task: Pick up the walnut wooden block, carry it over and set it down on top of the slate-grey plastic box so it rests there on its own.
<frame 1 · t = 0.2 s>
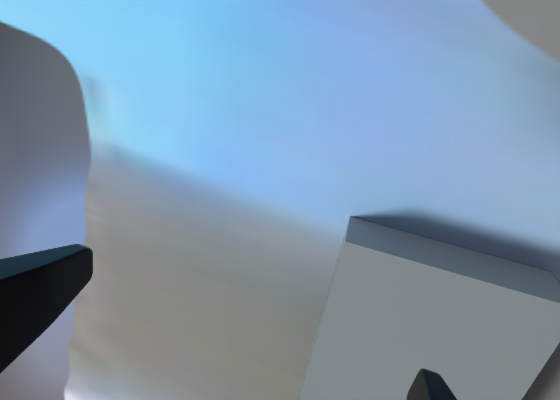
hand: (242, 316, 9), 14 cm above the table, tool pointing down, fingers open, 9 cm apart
slate box: (408, 324, 25), on the table
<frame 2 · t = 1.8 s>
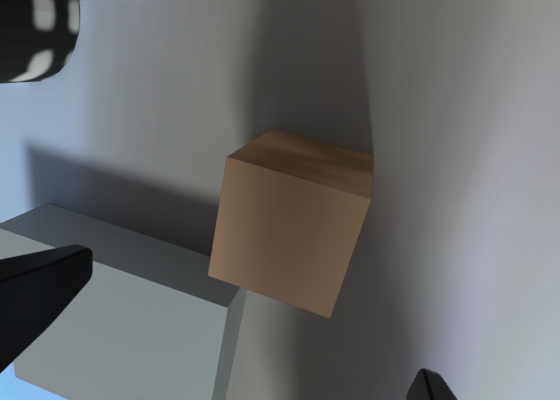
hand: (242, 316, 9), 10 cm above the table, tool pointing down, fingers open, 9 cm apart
walnut block: (310, 188, 18), on the table
slate box: (144, 306, 25), on the table
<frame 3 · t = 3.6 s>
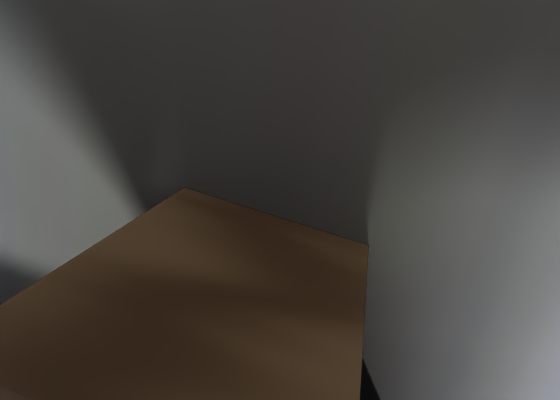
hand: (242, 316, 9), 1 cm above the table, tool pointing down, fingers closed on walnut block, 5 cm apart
walnut block: (254, 292, 10), on the table, touching gripper
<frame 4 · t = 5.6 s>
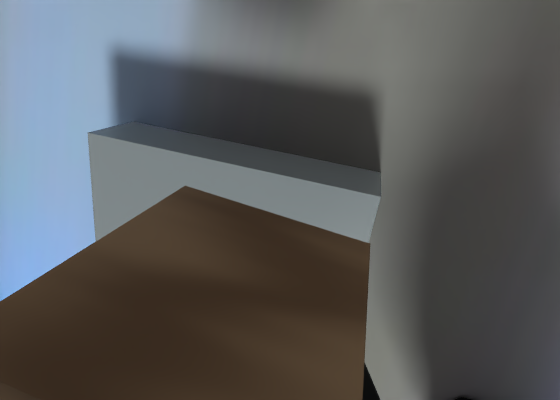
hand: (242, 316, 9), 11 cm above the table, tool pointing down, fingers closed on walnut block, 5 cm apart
walnut block: (255, 290, 10), point 10 cm above the table, touching gripper
slate box: (241, 238, 22), on the table
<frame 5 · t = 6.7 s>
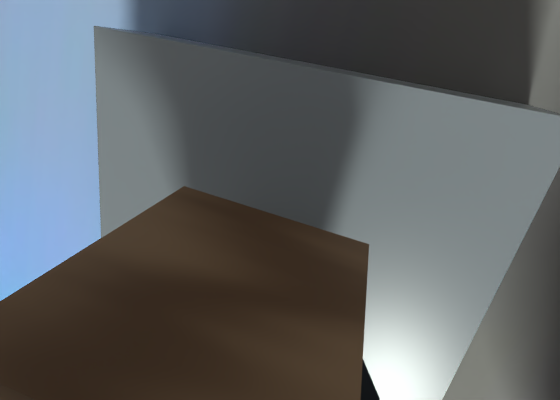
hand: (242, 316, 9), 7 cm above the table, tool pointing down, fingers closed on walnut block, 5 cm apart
walnut block: (254, 291, 10), point 6 cm above the table, touching gripper
slate box: (298, 206, 16), on the table
when the fingers open (6 cm above the table, at t = 7.6 s): walnut block drops 2 cm, resting on slate box.
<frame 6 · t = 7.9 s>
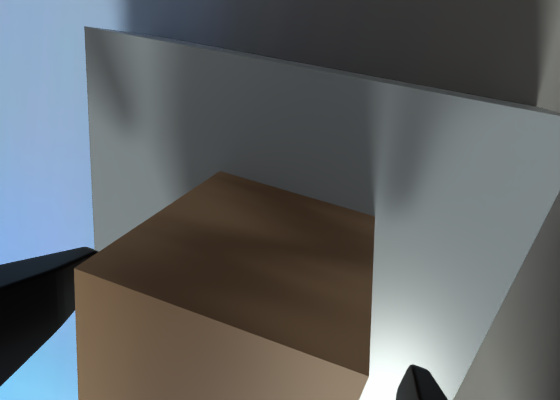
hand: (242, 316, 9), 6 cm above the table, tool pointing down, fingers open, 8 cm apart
walnut block: (278, 260, 12), point 3 cm above the table, touching slate box
slate box: (297, 211, 16), on the table, touching walnut block
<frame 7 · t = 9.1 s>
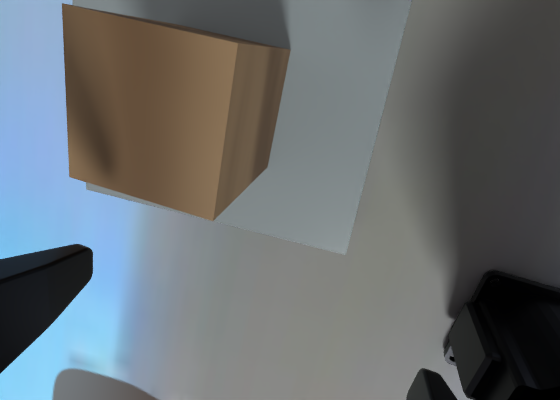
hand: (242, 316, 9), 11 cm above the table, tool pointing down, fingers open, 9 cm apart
walnut block: (223, 98, 16), point 3 cm above the table, touching slate box
slate box: (246, 91, 19), on the table, touching walnut block
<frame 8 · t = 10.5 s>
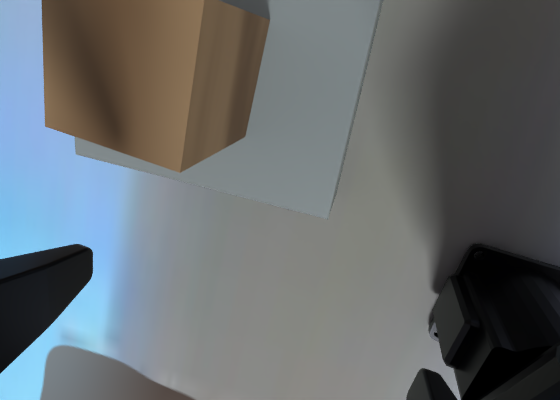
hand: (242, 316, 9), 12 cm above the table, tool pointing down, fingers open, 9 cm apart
walnut block: (204, 66, 16), point 3 cm above the table
slate box: (235, 60, 20), on the table
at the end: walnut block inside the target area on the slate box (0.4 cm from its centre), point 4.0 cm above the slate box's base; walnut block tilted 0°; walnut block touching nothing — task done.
